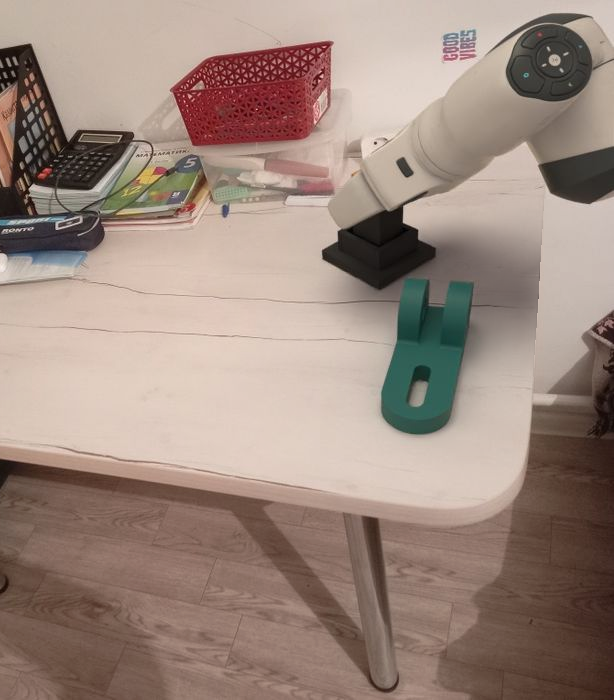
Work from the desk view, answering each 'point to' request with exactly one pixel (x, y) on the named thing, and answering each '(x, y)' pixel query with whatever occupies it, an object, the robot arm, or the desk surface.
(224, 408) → the desk surface
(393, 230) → the upright block
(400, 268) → the square base socket
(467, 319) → the bracket
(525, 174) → the desk surface
